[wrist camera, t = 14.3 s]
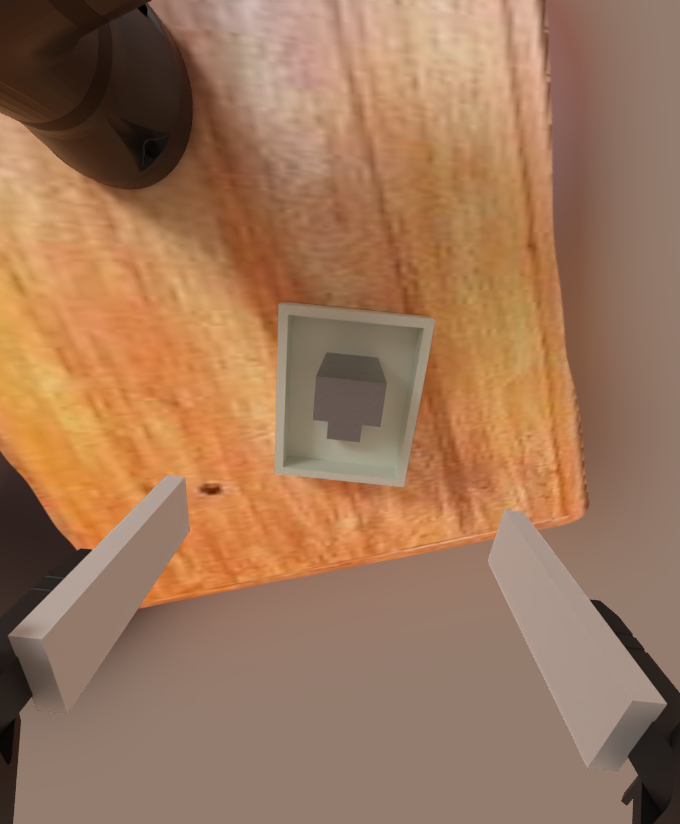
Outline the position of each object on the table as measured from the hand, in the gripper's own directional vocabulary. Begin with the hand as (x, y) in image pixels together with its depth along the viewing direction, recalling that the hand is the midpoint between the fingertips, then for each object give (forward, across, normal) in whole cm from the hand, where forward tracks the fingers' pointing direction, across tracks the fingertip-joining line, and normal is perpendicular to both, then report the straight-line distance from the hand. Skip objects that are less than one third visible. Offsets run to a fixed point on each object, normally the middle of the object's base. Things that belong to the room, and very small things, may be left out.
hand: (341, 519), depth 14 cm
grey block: (+27, 0, -3) cm, 27 cm away
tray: (+28, 0, -3) cm, 28 cm away
